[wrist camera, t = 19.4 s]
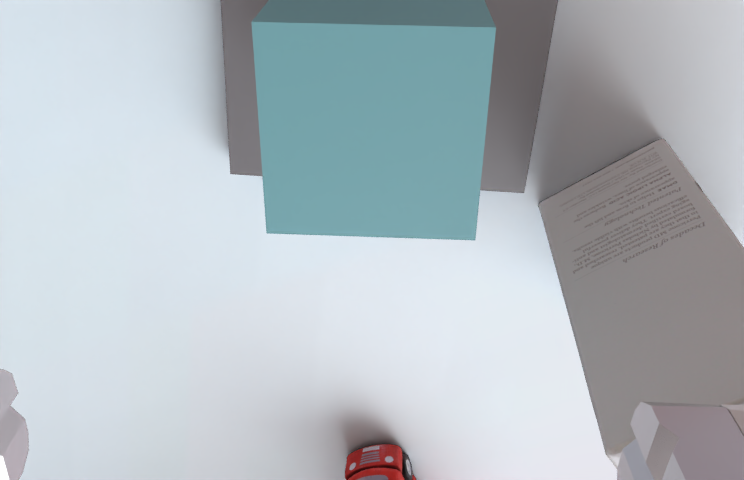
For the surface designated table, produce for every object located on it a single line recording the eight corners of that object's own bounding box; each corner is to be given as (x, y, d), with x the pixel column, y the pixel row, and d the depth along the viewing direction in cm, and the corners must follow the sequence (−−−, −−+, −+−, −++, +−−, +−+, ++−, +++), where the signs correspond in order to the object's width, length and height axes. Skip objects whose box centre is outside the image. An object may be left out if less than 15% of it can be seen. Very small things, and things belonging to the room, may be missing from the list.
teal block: (293, 157, 23) (266, 233, 19) (285, -20, 20) (251, 21, 16) (462, 162, 23) (475, 240, 19) (477, -16, 20) (495, 27, 16)
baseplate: (236, 162, 30) (230, 174, 29) (220, -164, 24) (211, -163, 23) (520, 180, 30) (524, 193, 29) (575, -143, 24) (582, -141, 23)
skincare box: (734, 272, 32) (953, 574, 19) (609, 331, 34) (731, 641, 21) (656, 124, 29) (857, 369, 16) (522, 199, 30) (605, 471, 18)
